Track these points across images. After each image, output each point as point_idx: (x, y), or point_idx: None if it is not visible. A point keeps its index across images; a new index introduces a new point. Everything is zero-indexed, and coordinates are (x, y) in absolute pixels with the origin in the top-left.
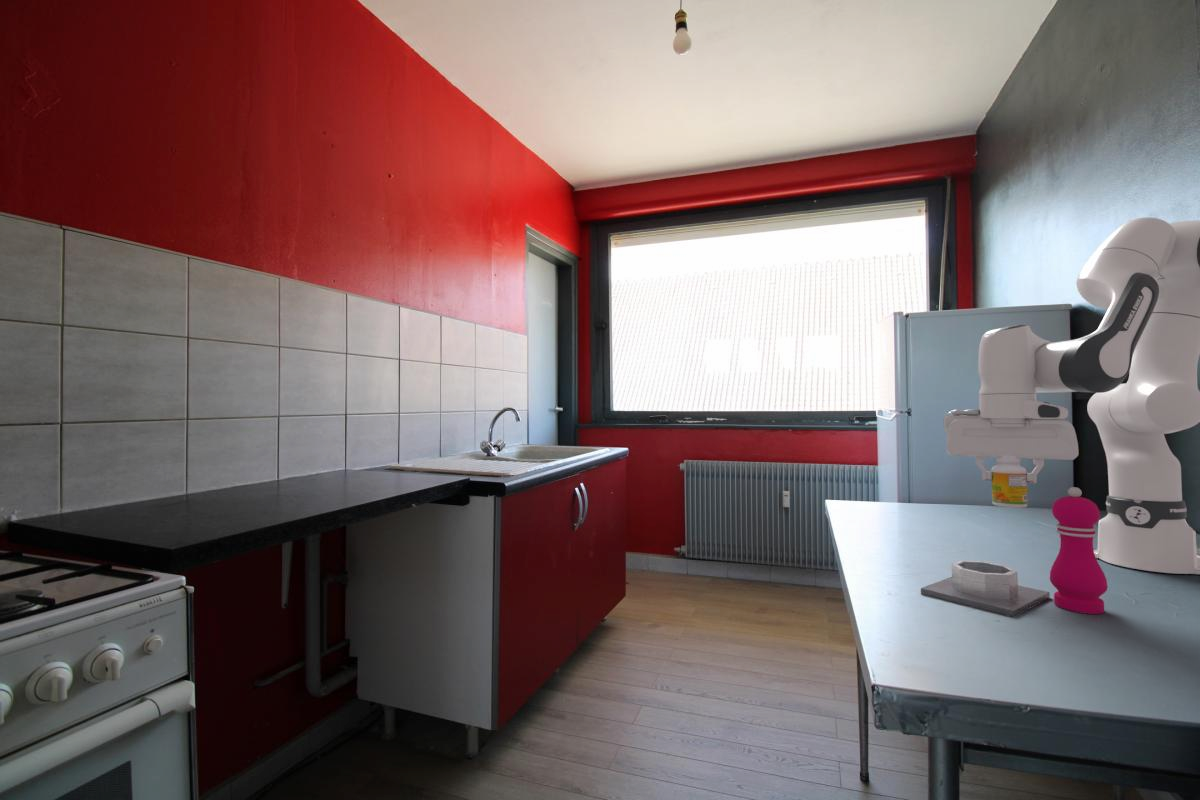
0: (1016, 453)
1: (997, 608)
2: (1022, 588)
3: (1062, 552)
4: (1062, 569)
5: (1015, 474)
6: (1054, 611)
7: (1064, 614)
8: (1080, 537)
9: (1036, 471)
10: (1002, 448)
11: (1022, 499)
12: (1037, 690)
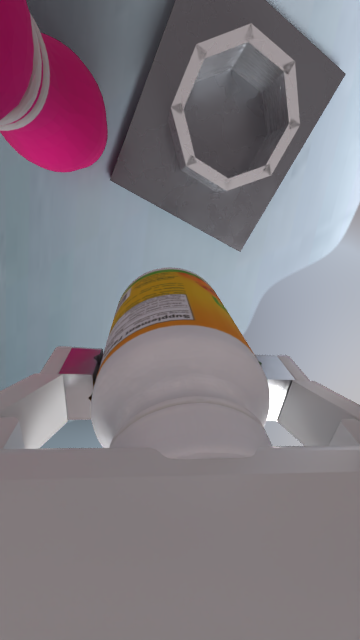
0: (141, 485)
1: None
2: (152, 184)
3: (58, 72)
4: (73, 57)
5: (158, 324)
6: (112, 66)
7: (97, 49)
8: None
9: (32, 381)
10: (300, 547)
11: (132, 287)
12: None
